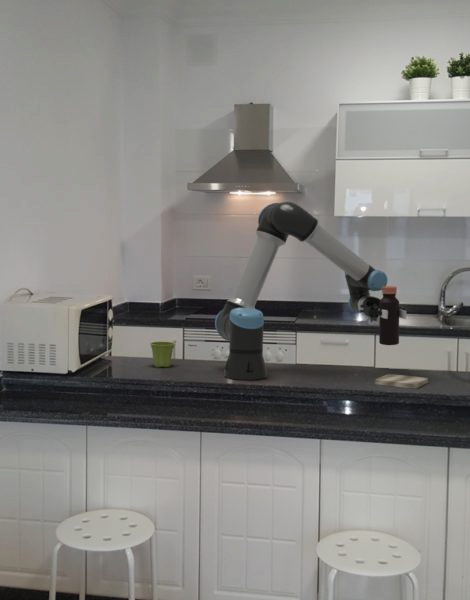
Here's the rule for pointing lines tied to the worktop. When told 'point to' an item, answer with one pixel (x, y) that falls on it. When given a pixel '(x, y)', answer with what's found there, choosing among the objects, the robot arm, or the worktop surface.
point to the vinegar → (389, 317)
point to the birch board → (401, 381)
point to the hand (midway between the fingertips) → (396, 314)
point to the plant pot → (162, 353)
